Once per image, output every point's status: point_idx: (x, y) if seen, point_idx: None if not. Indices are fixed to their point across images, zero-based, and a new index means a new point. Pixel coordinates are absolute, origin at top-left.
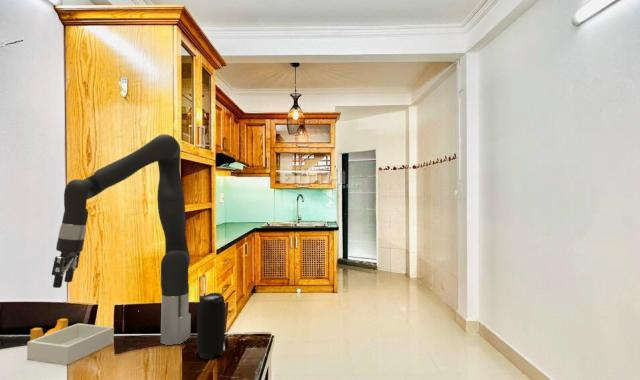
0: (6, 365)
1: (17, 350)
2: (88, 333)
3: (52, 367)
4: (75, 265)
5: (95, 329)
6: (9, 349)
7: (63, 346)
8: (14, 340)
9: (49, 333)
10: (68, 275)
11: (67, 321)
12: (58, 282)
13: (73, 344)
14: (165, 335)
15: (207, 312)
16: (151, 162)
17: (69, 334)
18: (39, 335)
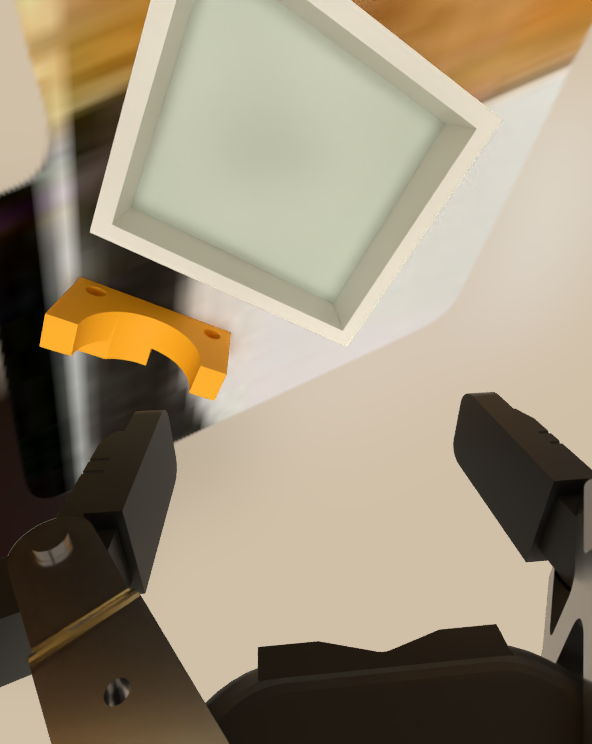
0: (370, 350)
1: (237, 383)
2: (147, 134)
3: None
4: (119, 624)
5: (158, 75)
6: (223, 410)
7: (481, 148)
8: None
9: (129, 343)
10: (151, 504)
11: (53, 308)
12: (553, 443)
13: (474, 98)
14: None
15: None
16: None
17: (172, 238)
18: (214, 354)
